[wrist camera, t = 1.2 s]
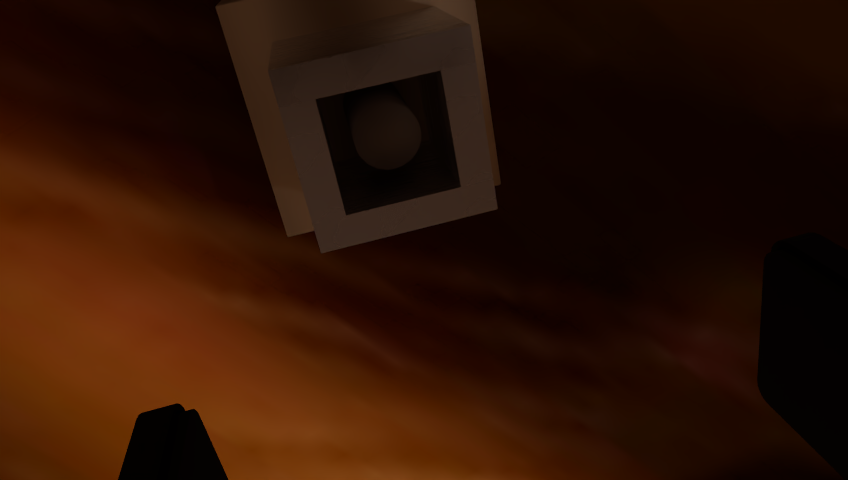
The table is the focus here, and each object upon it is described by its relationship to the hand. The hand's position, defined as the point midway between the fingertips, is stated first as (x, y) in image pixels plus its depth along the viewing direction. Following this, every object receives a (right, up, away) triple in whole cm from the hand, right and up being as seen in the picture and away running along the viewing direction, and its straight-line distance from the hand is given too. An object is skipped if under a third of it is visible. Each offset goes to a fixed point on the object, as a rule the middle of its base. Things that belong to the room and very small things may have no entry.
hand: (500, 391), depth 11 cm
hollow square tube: (-3, +8, +17) cm, 19 cm away
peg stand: (-4, +9, +20) cm, 22 cm away
